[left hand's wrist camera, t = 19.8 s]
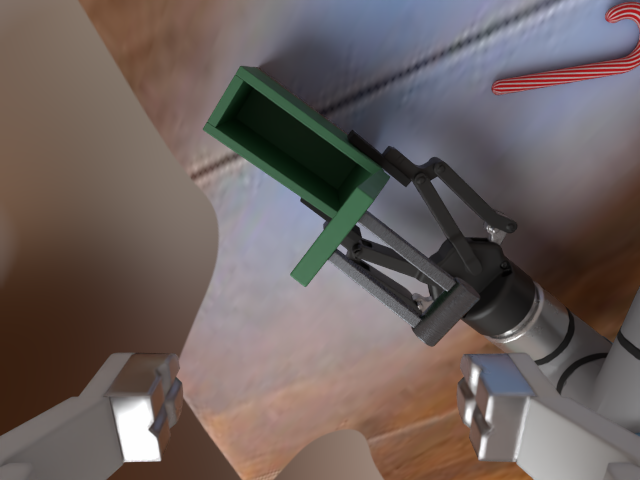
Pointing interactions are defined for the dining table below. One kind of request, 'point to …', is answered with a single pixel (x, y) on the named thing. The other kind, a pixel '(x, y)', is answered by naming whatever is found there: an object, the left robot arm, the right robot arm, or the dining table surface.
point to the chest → (289, 140)
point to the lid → (456, 291)
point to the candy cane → (582, 72)
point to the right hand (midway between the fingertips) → (326, 165)
